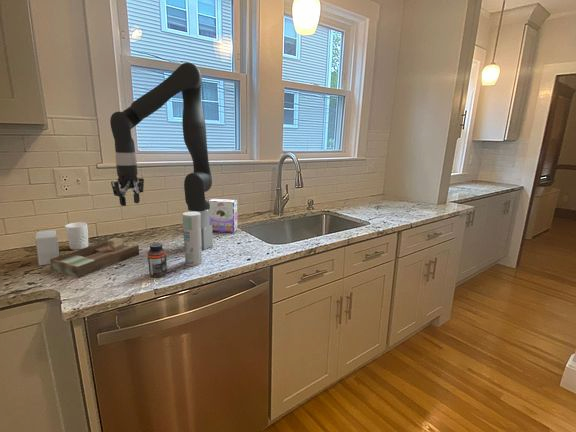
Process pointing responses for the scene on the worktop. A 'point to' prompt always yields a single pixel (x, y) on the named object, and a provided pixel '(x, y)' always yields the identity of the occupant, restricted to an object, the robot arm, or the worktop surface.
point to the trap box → (91, 259)
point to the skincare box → (46, 246)
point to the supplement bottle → (157, 260)
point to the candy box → (223, 215)
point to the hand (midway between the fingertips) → (130, 204)
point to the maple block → (115, 244)
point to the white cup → (77, 235)
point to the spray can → (192, 238)
